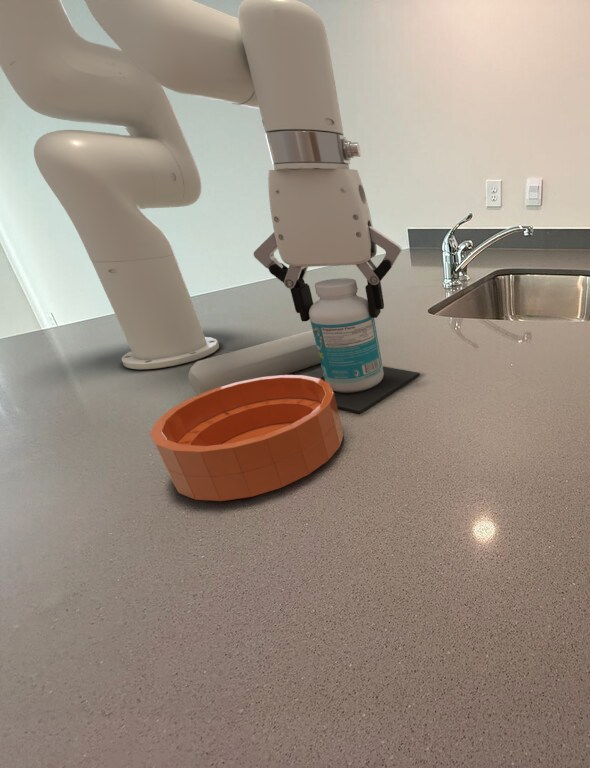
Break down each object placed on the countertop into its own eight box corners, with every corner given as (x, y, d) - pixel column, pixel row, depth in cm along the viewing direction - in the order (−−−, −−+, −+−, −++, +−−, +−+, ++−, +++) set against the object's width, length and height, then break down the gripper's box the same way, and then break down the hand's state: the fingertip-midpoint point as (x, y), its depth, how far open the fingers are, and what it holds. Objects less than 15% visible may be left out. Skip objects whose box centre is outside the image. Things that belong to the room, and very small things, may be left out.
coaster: (287, 397, 52) (286, 394, 52) (354, 363, 62) (354, 361, 62) (360, 414, 48) (359, 411, 48) (419, 375, 58) (419, 372, 57)
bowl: (139, 480, 37) (113, 429, 35) (278, 408, 49) (265, 367, 47) (246, 525, 32) (224, 468, 30) (373, 432, 44) (364, 387, 42)
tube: (194, 379, 48) (375, 325, 66) (175, 356, 50) (355, 310, 68) (204, 412, 51) (374, 352, 69) (186, 389, 53) (355, 337, 71)
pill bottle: (336, 373, 58) (315, 276, 52) (389, 370, 58) (373, 274, 53) (318, 397, 51) (291, 289, 45) (378, 393, 52) (359, 287, 46)
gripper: (398, 157, 47) (416, 305, 55) (241, 159, 46) (282, 312, 53) (387, 151, 41) (410, 321, 48) (203, 153, 39) (256, 329, 47)
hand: (342, 315), depth 51 cm, fingers closed on pill bottle, 7 cm apart
